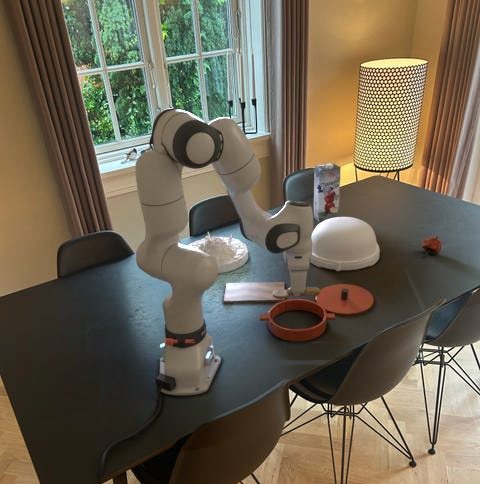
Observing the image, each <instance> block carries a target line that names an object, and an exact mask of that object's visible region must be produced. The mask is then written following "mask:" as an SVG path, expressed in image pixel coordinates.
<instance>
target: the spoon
mask: <svg viewBox="0 0 480 484" xmlns="http://www.w3.org/2000/svg"><path fill="white" fill-rule="evenodd" d="M320 290H321V289H320V288H319V287H317V286H316V287H315V286H314V287H313V286H311V287H309V286H307V287H306V286H305V291H304V293H303V294H300V296H299V297H303V296H304V297H305V296H309V297H311V296H312V297H313V296H314V297H316V296H317V295H319V294H320ZM289 296H290V297H296V296H295V295H294V294H293V293H292V289H291V287H289V288H287V289H276V290H274V291H273V297H274V298H276V299H285V300H286V299H287V298H288V297H289Z"/></svg>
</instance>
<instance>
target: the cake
mask: <svg viewBox="0 0 480 484" xmlns="http://www.w3.org/2000/svg"><path fill="white" fill-rule="evenodd" d="M186 246H189V247H193V248H196V249H199V250H202V251H203V252H205V253H207V254H209V255H210V256H212V257H213V258H214V259H215V260H216V262H217V265H218V274H223V273H228V272H231V271H234V270H237V269H238V268H240V267H242V266H244V265H245V263H247V261H248V259H249V248H248V245H247V244H246V243H244V242H243V241H242V240H240V239H238V238H237V239H236V238H233V234H231V236H230V237H227V236H216V235H212V236H211V234H210V231H207V235H206V236H205V237H204V238H201V239H197V240H195V241H193V242H190V243H188V244H187V245H186Z"/></svg>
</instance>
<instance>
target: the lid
mask: <svg viewBox="0 0 480 484" xmlns="http://www.w3.org/2000/svg"><path fill="white" fill-rule="evenodd" d="M374 301H375V300H374V296H373V294H372V293H371V292H370V291H369V290H367V289H366V288H364V287H361V286H358V285H356V284H355V285H354V284H348V283H346V284H345V283H338V284H331V285H328V286H325V287H323V288H321V289H320V294H319V295H317V296H315V302H316V303H318V304H319V305H321V306H322V307H323V308H324V309H325V310H326V312H327V313H330V314H335V315H341V316H352V315H359V314H362V313H365V312H367V311H368V310H370V309H371V308H372V307H373V305H374Z"/></svg>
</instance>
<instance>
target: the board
mask: <svg viewBox="0 0 480 484" xmlns="http://www.w3.org/2000/svg"><path fill="white" fill-rule="evenodd" d="M285 283H286V282H285V281H263V282H261V281H259V282H226V284H225V290H224V295H223V304H227V305H228V304H234V303H275V302H277V303H279V302H282V301H285V300H286V298H285V299H276V298H274V297H273V291H274V290H276V289H285V287H286V285H285ZM285 290H286V289H285Z"/></svg>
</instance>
